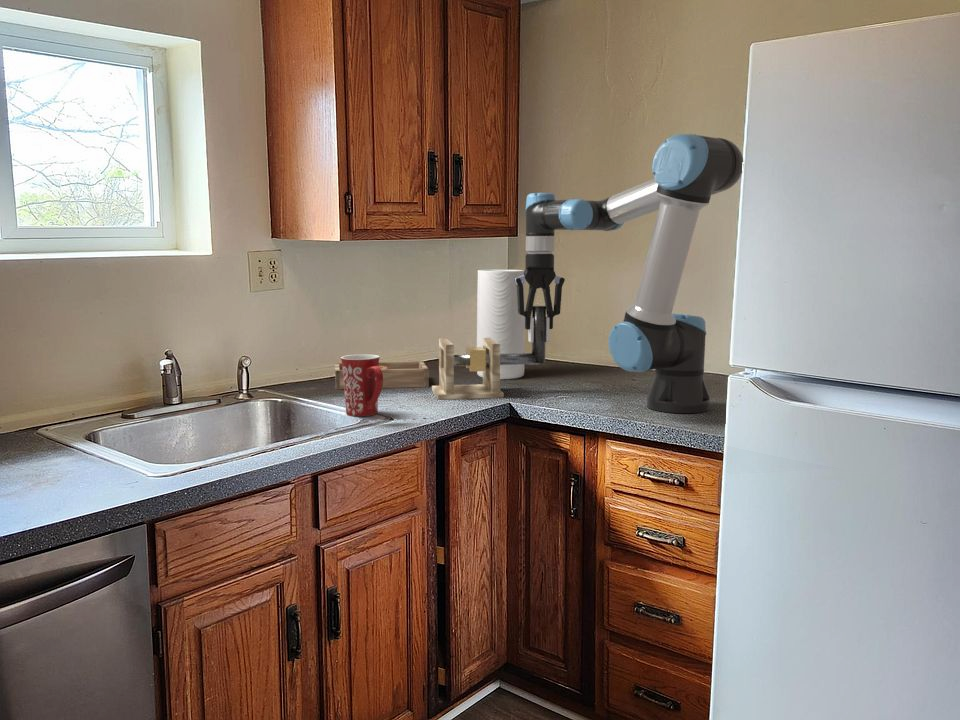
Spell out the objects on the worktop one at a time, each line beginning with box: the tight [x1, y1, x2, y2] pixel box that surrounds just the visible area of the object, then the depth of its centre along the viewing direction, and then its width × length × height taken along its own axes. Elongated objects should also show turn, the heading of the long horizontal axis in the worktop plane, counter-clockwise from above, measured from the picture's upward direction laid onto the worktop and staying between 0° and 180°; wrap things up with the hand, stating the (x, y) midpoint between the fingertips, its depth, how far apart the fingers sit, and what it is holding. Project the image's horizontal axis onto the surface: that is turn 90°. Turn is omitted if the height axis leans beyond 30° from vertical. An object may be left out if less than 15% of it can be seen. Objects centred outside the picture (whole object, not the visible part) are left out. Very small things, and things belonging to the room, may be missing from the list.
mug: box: [340, 353, 383, 417], centre depth 195 cm, size 13×9×14 cm
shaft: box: [454, 305, 547, 367], centre depth 223 cm, size 26×4×16 cm, turn 100°
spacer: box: [465, 346, 486, 373], centre depth 222 cm, size 7×4×6 cm, turn 10°
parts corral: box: [334, 360, 430, 390], centre depth 239 cm, size 15×25×5 cm, turn 100°
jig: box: [431, 338, 505, 400], centre depth 222 cm, size 17×14×14 cm
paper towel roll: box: [476, 269, 526, 381], centre depth 250 cm, size 14×14×32 cm
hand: (538, 341), depth 225 cm, fingers closed on shaft, 4 cm apart
